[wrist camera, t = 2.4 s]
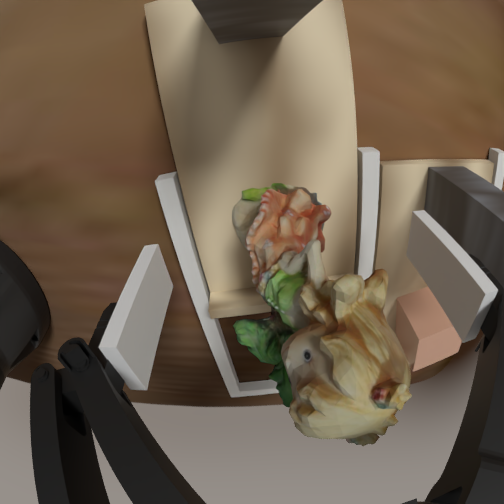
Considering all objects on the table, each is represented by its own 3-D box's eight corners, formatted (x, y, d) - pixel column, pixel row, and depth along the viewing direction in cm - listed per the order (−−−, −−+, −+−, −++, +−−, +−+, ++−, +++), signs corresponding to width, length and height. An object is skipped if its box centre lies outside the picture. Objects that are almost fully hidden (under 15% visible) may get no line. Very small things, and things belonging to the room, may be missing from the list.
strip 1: (215, 300, 24) (207, 424, 15) (148, 7, 12) (48, -49, 3) (349, 281, 23) (395, 395, 14) (333, -15, 11) (430, -83, 2)
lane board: (231, 388, 32) (231, 397, 31) (159, 175, 18) (154, 181, 17) (441, 347, 31) (444, 354, 30) (497, 148, 17) (506, 153, 16)
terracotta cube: (395, 332, 26) (412, 371, 22) (396, 297, 24) (419, 339, 19) (437, 316, 26) (457, 352, 21) (442, 280, 23) (469, 318, 19)
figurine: (256, 148, 17) (298, 350, 5) (356, 197, 19) (485, 380, 7) (203, 262, 22) (175, 471, 9) (294, 294, 24) (330, 480, 11)
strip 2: (355, 361, 30) (380, 448, 21) (377, 161, 18) (480, 250, 9) (437, 340, 29) (472, 413, 20) (487, 159, 17) (582, 225, 8)
